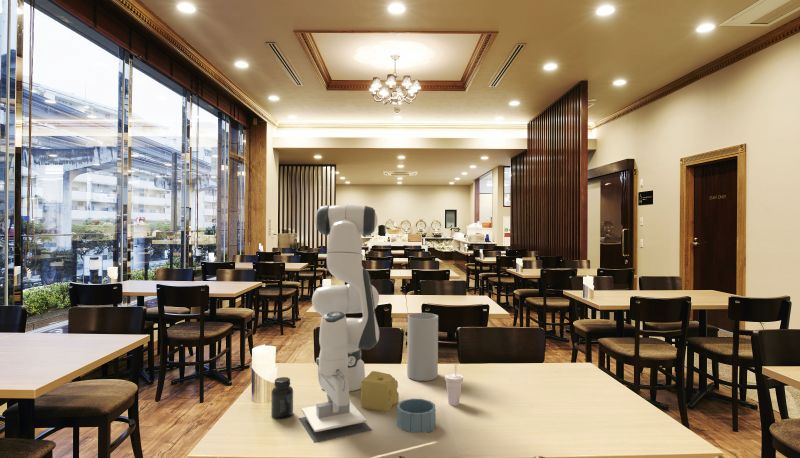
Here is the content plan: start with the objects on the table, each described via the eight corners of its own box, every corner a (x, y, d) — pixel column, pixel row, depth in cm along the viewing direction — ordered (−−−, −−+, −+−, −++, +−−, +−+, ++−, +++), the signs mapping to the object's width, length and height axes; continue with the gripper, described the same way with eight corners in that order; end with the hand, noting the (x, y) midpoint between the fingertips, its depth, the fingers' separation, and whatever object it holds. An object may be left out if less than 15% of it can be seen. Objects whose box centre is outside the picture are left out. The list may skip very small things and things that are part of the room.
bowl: (391, 421, 144) (391, 402, 144) (423, 414, 149) (423, 396, 149) (408, 437, 133) (408, 417, 133) (442, 429, 139) (442, 409, 139)
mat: (298, 419, 144) (298, 418, 144) (351, 409, 153) (351, 408, 153) (314, 444, 128) (314, 442, 128) (372, 431, 137) (372, 430, 137)
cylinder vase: (418, 369, 195) (418, 311, 194) (443, 375, 187) (443, 315, 187) (401, 377, 185) (401, 316, 184) (427, 384, 177) (427, 320, 177)
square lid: (301, 410, 145) (301, 397, 145) (348, 401, 152) (348, 389, 152) (314, 432, 130) (314, 418, 130) (366, 421, 137) (366, 408, 137)
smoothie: (462, 408, 155) (462, 367, 154) (443, 406, 156) (443, 366, 156) (463, 400, 161) (463, 361, 161) (445, 399, 162) (445, 360, 162)
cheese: (398, 401, 160) (398, 373, 160) (388, 414, 150) (388, 384, 149) (371, 398, 163) (371, 370, 163) (359, 409, 153) (359, 380, 153)
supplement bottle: (270, 413, 149) (270, 377, 149) (291, 410, 152) (291, 374, 151) (272, 422, 143) (273, 384, 142) (294, 418, 145) (294, 381, 145)
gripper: (354, 374, 133) (354, 421, 133) (333, 354, 151) (333, 395, 151) (334, 377, 130) (333, 425, 130) (314, 357, 148) (314, 398, 149)
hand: (333, 409), depth 141 cm, fingers closed on square lid, 2 cm apart
